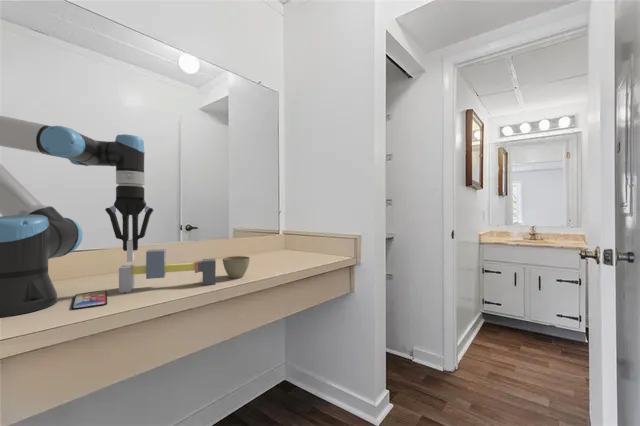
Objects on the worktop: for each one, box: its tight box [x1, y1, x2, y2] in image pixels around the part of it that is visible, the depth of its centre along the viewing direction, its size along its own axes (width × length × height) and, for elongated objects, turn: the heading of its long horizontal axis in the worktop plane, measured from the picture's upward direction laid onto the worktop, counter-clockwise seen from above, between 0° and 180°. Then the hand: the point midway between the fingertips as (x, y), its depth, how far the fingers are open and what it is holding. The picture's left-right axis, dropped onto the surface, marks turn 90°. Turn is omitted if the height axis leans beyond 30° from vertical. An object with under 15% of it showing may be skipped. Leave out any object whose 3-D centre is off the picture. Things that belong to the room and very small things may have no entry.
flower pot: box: [222, 255, 251, 279], centre depth 113 cm, size 10×10×7 cm
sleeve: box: [145, 248, 167, 280], centre depth 97 cm, size 5×5×8 cm
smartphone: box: [71, 290, 108, 311], centre depth 83 cm, size 7×1×15 cm
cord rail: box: [118, 258, 217, 294], centre depth 98 cm, size 28×7×8 cm, turn 113°
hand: (130, 260), depth 94 cm, fingers closed
